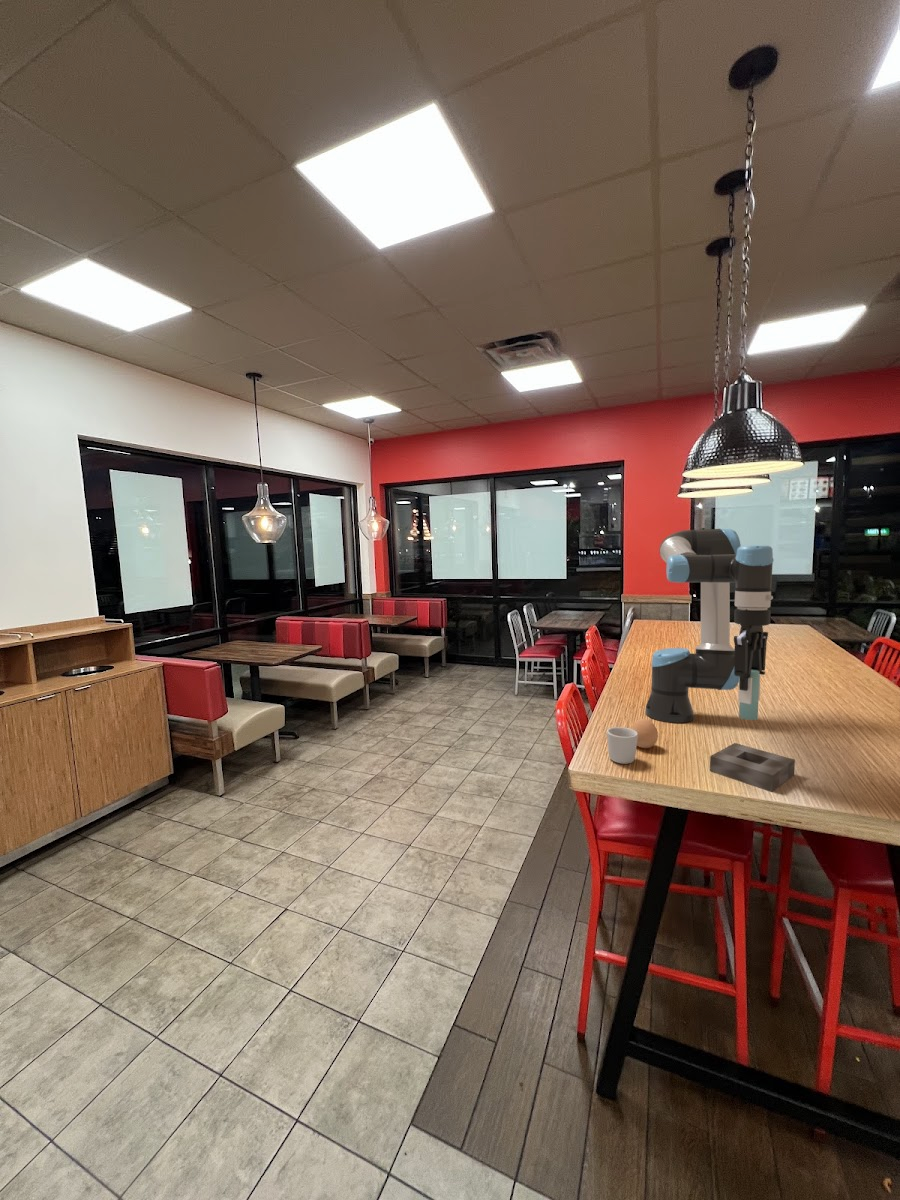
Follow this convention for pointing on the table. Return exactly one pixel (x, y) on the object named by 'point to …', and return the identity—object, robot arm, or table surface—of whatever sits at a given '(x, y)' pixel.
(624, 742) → the cup
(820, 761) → the table surface
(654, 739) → the egg
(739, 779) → the socket
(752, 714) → the peg
